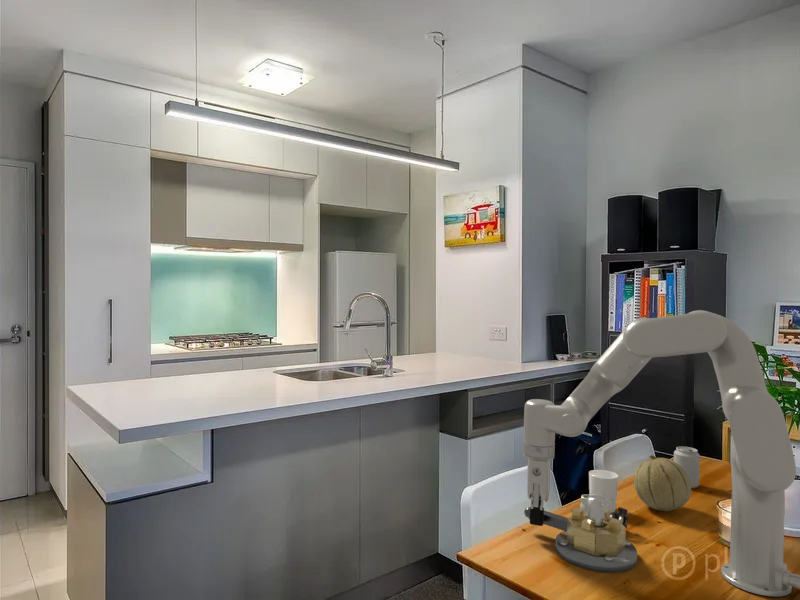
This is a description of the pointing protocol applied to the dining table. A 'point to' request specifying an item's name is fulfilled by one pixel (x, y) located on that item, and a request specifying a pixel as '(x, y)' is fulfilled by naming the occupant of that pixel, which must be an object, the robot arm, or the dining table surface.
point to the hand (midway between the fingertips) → (536, 523)
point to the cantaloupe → (662, 484)
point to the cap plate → (592, 562)
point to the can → (689, 463)
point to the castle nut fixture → (588, 532)
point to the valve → (616, 515)
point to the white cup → (604, 487)
